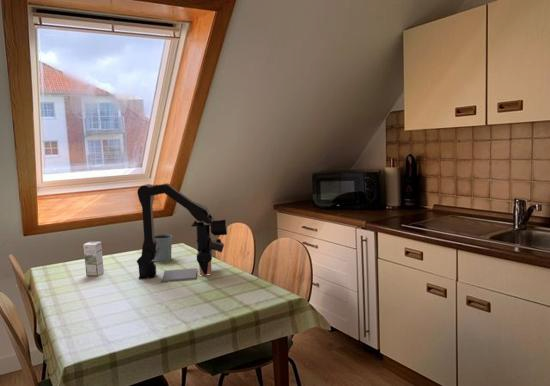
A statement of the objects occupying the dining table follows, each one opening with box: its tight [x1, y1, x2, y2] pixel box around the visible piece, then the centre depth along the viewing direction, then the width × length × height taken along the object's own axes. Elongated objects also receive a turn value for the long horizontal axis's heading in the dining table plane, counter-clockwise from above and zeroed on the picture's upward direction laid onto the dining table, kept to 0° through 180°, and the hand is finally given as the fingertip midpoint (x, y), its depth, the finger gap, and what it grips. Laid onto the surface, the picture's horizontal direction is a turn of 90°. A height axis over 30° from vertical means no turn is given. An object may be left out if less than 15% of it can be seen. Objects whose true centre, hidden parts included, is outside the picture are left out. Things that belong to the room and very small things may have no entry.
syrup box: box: [82, 241, 105, 277], centre depth 199 cm, size 6×6×14 cm
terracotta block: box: [198, 260, 213, 276], centre depth 194 cm, size 5×5×5 cm
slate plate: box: [161, 267, 198, 283], centre depth 192 cm, size 14×14×1 cm
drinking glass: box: [153, 233, 173, 263], centre depth 219 cm, size 10×10×12 cm
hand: (205, 271), depth 194 cm, fingers open, 9 cm apart
